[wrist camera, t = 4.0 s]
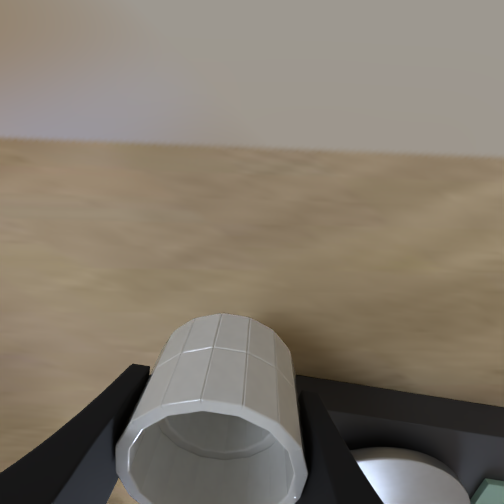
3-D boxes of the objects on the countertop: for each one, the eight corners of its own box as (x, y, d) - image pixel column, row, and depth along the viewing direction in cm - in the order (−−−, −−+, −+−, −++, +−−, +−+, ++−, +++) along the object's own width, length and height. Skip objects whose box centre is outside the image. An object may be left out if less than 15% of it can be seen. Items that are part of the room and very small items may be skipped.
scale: (441, 528, 20) (464, 579, 18) (252, 499, 20) (250, 547, 18) (520, 409, 16) (563, 455, 14) (284, 372, 16) (287, 413, 14)
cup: (278, 417, 14) (285, 542, 9) (161, 399, 13) (115, 517, 9) (305, 318, 12) (328, 419, 7) (168, 296, 12) (113, 386, 7)
